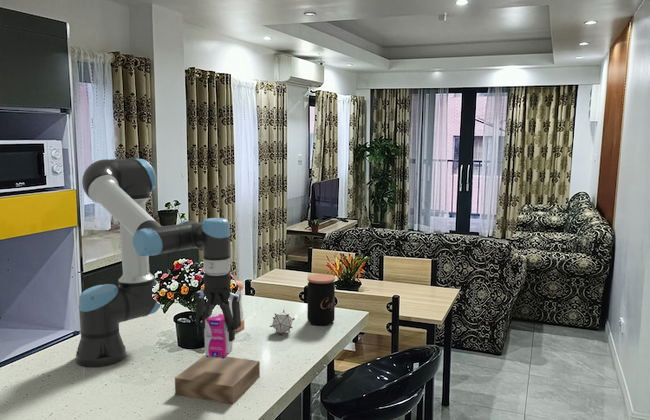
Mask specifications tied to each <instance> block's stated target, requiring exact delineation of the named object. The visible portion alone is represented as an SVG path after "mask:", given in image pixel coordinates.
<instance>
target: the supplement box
mask: <svg viewBox="0 0 650 420" xmlns="http://www.w3.org/2000/svg"><path fill="white" fill-rule="evenodd" d="M226 330H228V328H227V325H226V322H225V318H224V315H223V313H214V312H212V314H211V315H210V316H209V317H208V318H207V319H205V337H206V350H205V355H206V357H214V358H222V359H224V358H225V357H228V355H230V353H231V352H232V351H230V352H229V353H226V336H225V331H226Z"/></svg>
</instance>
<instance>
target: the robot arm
mask: <svg viewBox="0 0 650 420" xmlns="http://www.w3.org/2000/svg"><path fill="white" fill-rule="evenodd" d="M81 181H82V182H81V184H82V189H83V191H84V193H85V195H86V196H87V197H88V198H89V199H90V200H91V201H92V202H94V203H96V204H100V205H101V206H102V207H103V208H104V209H105V210H106V211H107V212H108V213H109V214H110V215H111V216H112V217H113V218H114V219H115V220H116V221H117V222H118V223H119V234H120V250H121V251H120V252H121V265H122V274H121V277H120V278H118V286H117V285H115V284H113V283H105V284H97V285H94V286H91V287H89V288H86V289H85V290H83V291H82V292H81V293H80V295H79V298H78V299H79V300H78V311H79V327H80V340H79V342H78V347H77V350H76V354H75V360H76V361H75V362H76V364H78V365H79V366H82V367H88V368H97V367H105V366H109V365H114V364H115V363H116V364H117V363H118V362H120V361H122V360H123V359H125V357H126V355H127V353H126V352H127V350H126V346H125V344H124V341H123V339H122V337H121V333H120V323H123V322H127V321H130V320H134V319H138V318H139V319H140V318H143V317H148V316H149V315H152V314H155V313H156V312H157V311H159V309H160V308H161V306H162V304H161V305H160V304H158V303H157V302H156V301H155V300H154V299H153V297H152V294H154V293H153V292H152V288H154V287H153V286H155V285H156V284H157V283H158V282H159V281H157V280H156V279H155V275H153V274H152V273H151V272H150V261H149V260H150V259H149V258H150V256H151V257H154V256H158V255H162V254H163V255H164V254H168V253H174V252H179V251H185V250H191V249H198V250H202V252H203V253H202V255H203V256H202V258H203V260H202V261H203V272H204V274H203V287H204V289H202V290H201V289H200V290H198V291H195V292H194V298H195V319H194V320H195V322H194V323H195V325H196V326H200V327H201V337H202V339H204V351H206V337H205V319H207V318H208V317H209V316H210V315H211V314H212V313H213V310H214V307H215V305H217V306H219V308H220V309H221V312H222V314H223V315H224V318H225V322H226V325H227V328H228V330H226V331H225V336H226V353H229V352H230V351H231V352H232V351H233V342H234V341H235V338H236V337H235V336H236V331H235V330H237V329H238V328H239V327H241V318H240V305H239V301H240V297H241V295H240V294H237V295H236V294H234V293H232V291H231V289H230V284H231V273H230V271H231V230H230V229H231V228H230V222H229V220H228V219H227V218H225V217H210V218H205V219H203V221H202V222H197V221H194V220H184V221H181V222H180V223H177V224H171V225H170V224H169V225H165V226H163V225H161V224H160V223H159V222H157V220H156V219H154V218H153V217H152V215H150V214H149V213H148V212H147V209H146V207H147V206H146V203H148V201H149V200H150V199H151V197H150V195H151V194H150V193H152V192H153V191H155V189H156V186H157V177H156V172H155V169H154V168H153V166H152V165H151V163H150V162H149V161H147V160H146V159H144V158H134V157H133V158H115V159H114V158H113V159H111V158H110V159H108V158H107V159H104V158H103V159H99V160H96V161H94V162H92V163H91V164H90V165H88V166H87V168H86V169H85V170H84V172H83V175H82V180H81ZM229 297H231V301H232V314H231V310H230V307H229V301H228V299H229ZM205 298H206V299H207V300H206V303H205ZM204 306H205V307H204ZM204 308H205V309H204ZM232 315H233V317H232ZM231 352H230V353H231ZM230 353H229V354H230Z"/></svg>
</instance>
